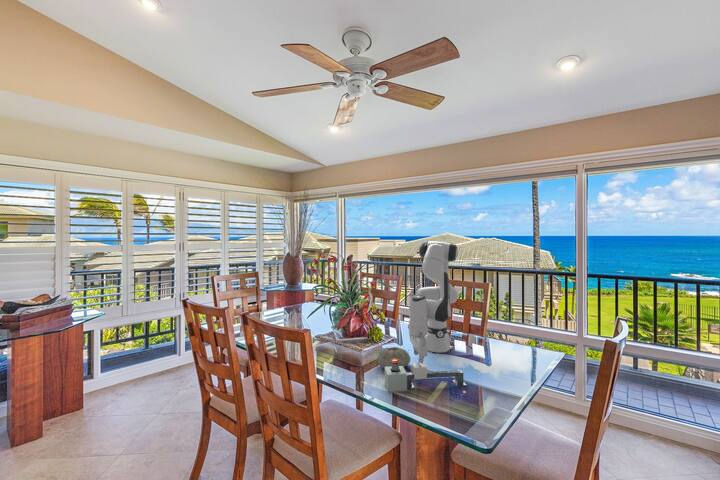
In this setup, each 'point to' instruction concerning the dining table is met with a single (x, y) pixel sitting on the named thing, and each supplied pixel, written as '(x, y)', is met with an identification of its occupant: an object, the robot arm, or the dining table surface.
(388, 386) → the push button box
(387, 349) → the decorative shell
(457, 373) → the rail
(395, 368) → the button
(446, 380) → the dining table surface
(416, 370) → the carriage
